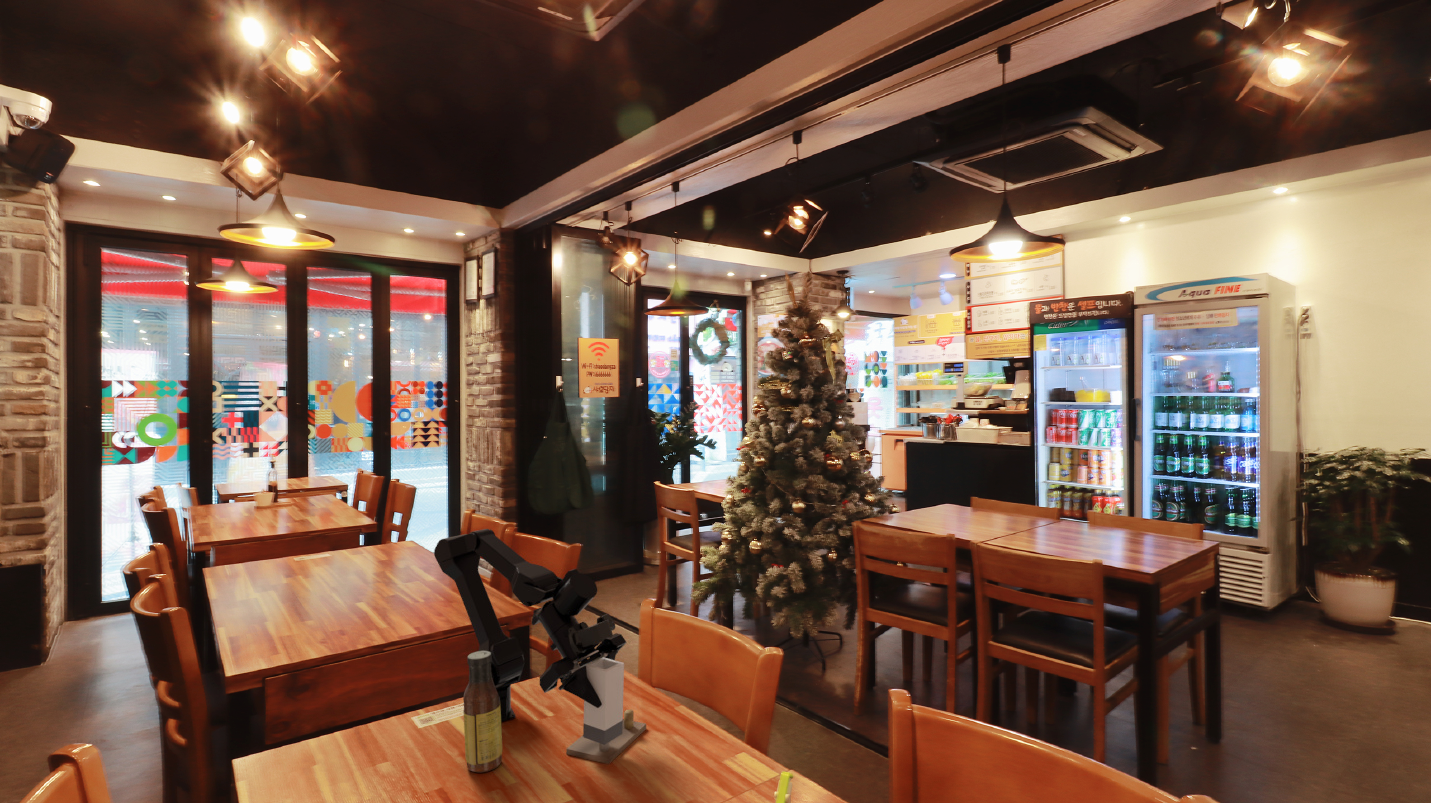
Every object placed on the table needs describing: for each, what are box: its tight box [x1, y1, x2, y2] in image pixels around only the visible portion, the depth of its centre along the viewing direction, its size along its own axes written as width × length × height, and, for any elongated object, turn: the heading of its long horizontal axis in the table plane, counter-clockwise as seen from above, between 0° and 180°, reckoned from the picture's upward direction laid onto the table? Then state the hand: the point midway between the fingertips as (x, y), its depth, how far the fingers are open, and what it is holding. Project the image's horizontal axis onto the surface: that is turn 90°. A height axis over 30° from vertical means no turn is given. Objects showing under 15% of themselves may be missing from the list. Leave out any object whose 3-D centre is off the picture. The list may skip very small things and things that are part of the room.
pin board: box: [565, 709, 647, 765], centre depth 131 cm, size 9×14×4 cm, turn 157°
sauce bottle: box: [462, 650, 503, 774], centre depth 123 cm, size 6×6×20 cm
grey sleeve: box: [582, 657, 625, 745], centre depth 126 cm, size 5×5×13 cm
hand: (609, 700), depth 126 cm, fingers closed on grey sleeve, 5 cm apart
